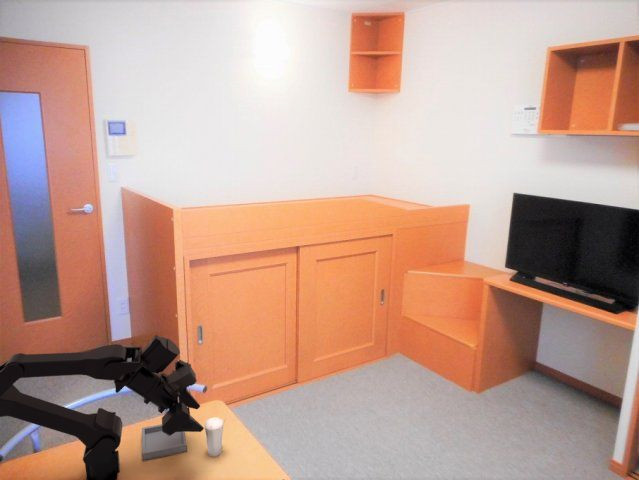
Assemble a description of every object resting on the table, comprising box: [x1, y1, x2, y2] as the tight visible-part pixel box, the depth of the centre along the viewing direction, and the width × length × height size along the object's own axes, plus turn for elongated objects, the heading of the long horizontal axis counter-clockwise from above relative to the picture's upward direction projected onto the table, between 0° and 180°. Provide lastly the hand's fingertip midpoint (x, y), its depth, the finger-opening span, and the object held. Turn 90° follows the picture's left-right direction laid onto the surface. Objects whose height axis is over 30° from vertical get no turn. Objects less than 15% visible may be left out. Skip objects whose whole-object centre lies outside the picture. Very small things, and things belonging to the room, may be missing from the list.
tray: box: [141, 423, 188, 462], centre depth 119 cm, size 10×10×2 cm
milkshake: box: [204, 417, 226, 457], centre depth 115 cm, size 4×5×10 cm
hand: (200, 418), depth 113 cm, fingers open, 9 cm apart
